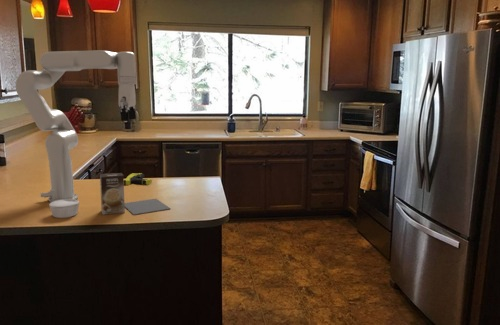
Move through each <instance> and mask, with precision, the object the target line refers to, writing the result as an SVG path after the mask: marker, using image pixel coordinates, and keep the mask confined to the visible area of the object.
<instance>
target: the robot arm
mask: <svg viewBox="0 0 500 325" xmlns="http://www.w3.org/2000/svg"><path fill="white" fill-rule="evenodd" d="M39 63H40V66H41V69H40V70H37V69H35V70H33V69H32V70H31V69H28V70H25V71H22V72H21V73H20V74H19V75H18V76H17V78H16V79H15V80H16V81H15V90H16V94H17V96H18V97H19V99H20V100H21V102H22V104H23V105H24V106H25V108H26V110H27V111H28V113H29V115H30V116H31V118H32V120H33V121H34V123H35V125H36V127H37V128H38V129H39V130H40V131H43V132H51V131H52V132H51V133H50V134H49V135H47V137H46V139H45V148H46V153H47V157H48V166H49V176H50V177H49V178H50V189H49V191H47V192H40V194H39V195H40V197H41V198H48V201H49V202H50V203H51V202H53V201H57V200H63V199H73V200H77V199H79V195H78V194H77V193H75V189H74V187H75V186H74V176H73V175H74V174H73V163H72V162H73V161H72V156H71V153H70V151H69V150H72V149H74V148H76V147H77V145H78V144H79V136H78V133H77V131H76V130H75V128H74V126H73V125H72V123H71V121H70V120H69V118H68V117H67V116H66V114H65V113H64V112H63V111H61V110H59V109H55V108H51V106H49V105H48V103H47V101H46V99H45V98H44V97H43V95H41V94H40V92H38V90H42V91H44V90H48V89H50V88H52V87H53V86H54V85H55V83H57V81H59V80H60V78H61V77H62V76H63V75H64V74H65V72H80V71H82V70H91V69H92V70H94V69H103V70H105V69H106V70H115V69H117V83H118V106H119V108H120V119H121V120H120V121H121V122H129V121H130V120H136V119H137V110H136V109H137V108H136V105H137V104H136V103H137V101H136V89H135V85H137V78H136V56H135V53H134V52H132V51H119V52H116V51H115V52H114V51H110V50H97V49H95V50H65V51H64V50H62V51H60V50H59V51H58V50H57V51H55V50H54V51H46V52H44V53H42V54H41V56H40V57H39Z"/></svg>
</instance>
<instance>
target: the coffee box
mask: <svg viewBox="0 0 500 325" xmlns="http://www.w3.org/2000/svg"><path fill="white" fill-rule="evenodd" d="M124 178H125V177H124V174H123V173H122V172H115V173H100V174H99V183H100V184H99V185H100V206H101V210H100V212H101V213H102V214H101V215H114V214H123V213H126V210H125V209H126V208H125V203H126V202H125V187H124V186H125V185H124V180H125V179H124Z"/></svg>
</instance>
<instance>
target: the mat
mask: <svg viewBox="0 0 500 325" xmlns="http://www.w3.org/2000/svg"><path fill="white" fill-rule="evenodd" d="M124 203H125V209H126V210H127V211H129V212H130V214H132V215H133V216H137V215H142V214H150V213H155V212H162V211H163V212H164V211H168V210H171V208H170V207H169V206H168V205H166V204H165V203H163V202H162V201H161V200H159V199H157V198H150V199H143V200H137V201H129V202H124Z"/></svg>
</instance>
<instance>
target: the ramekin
mask: <svg viewBox="0 0 500 325" xmlns="http://www.w3.org/2000/svg"><path fill="white" fill-rule="evenodd" d="M79 205H80V201H79V200H77V199H76V200H73V199H63V200H57V201H53V202H50V203H49V204H48V207H49V209H50V212H51V215H52V216H53V217H54V218H56V219H57V218H58V219H66V218H72V217H74V216H76V215H77V214H78V212H79Z"/></svg>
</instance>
